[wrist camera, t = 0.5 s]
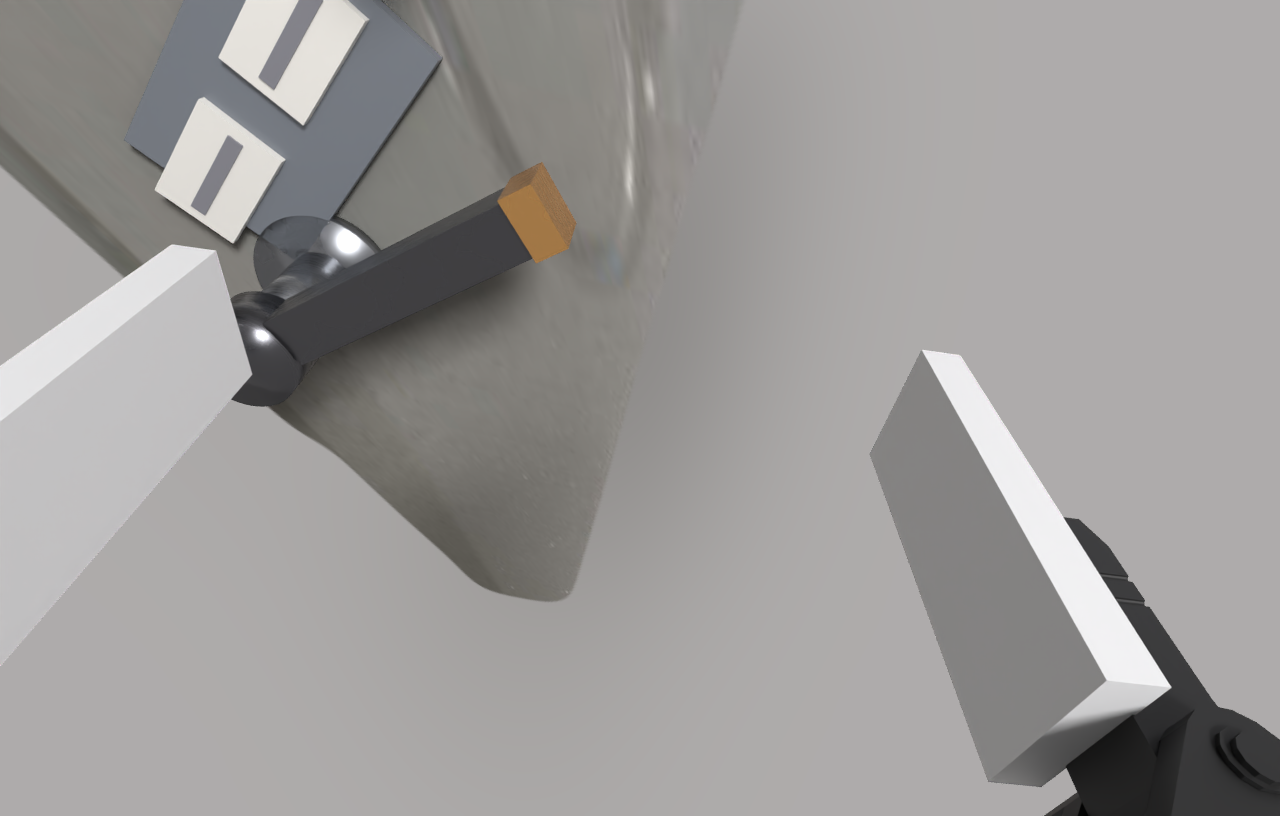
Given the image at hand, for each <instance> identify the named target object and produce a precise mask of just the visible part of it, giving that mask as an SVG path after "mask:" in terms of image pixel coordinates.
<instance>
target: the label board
mask: <svg viewBox="0 0 1280 816" xmlns="http://www.w3.org/2000/svg"><path fill="white" fill-rule="evenodd" d="M442 59H443V58H442V57H441V56H440V55H439V54H438V53H437V52H436V51H435V50H434V49H433V48H432V47H430V46H429V45H428V44H427V43H426V42H425V41H424V40H423V39H422V38H421V37H420V36H419V35H418V34H416V33H415V32H414V31H413V30H412V29H411V28H410V27H409V26H408V25H407V24H406V23H405V22H404V21H403V20H401V19H400V18H399V17H398V16H397V15H396V14H395V13H394V12H393V11H392V10H391V9H390V8H389V7H388V6H386V5H385V4H384V3H383V2H382V1H381V0H184V1H183V3H182V6H181V8H180V10H179V13H178V15H177V17H176V20H175V22H174V24H173V27H172V29H171V31H170V34H169V36H168V38H167V41H166V43H165V45H164V48H163V50H162V52H161V55H160V57H159V59H158V62H157V64H156V66H155V69H154V71H153V73H152V76H151V78H150V80H149V83H148V85H147V87H146V90H145V92H144V94H143V97H142V99H141V101H140V104H139V106H138V108H137V111H136V113H135V115H134V118H133V120H132V122H131V125H130V127H129V129H128V132H127V134H126V136H125V139H124V141H126V142H127V143H129V144H130V145H132V146H133V147H134V148H136V149H137V150H139V151H140V152H142V153H143V154H144V155H146V156H147V157H149V158H150V159H151V160H153V161H154V162H156V163H157V164H159V165H160V166H161V167H163V168H164V171H163V173H162V175H161V178H160V180H159V182H158V184H157V186H156V188H155V190H156V191H157V192H158V193H160V194H161V195H163V196H164V197H166V198H167V199H169V200H170V201H172V202H173V203H174V204H176V205H177V206H179V207H180V208H182V209H183V210H185V211H186V212H188V213H189V214H191V215H192V216H193V217H195V218H196V219H198V220H199V221H201V222H202V223H204V224H205V225H207V226H208V227H209V228H211V229H212V230H214V231H215V232H217V233H218V234H220V235H221V236H223V237H224V238H226V239H227V240H228V241H230V242H231V243H234V242H236V241H237V240H238V239H239V237H240V235H241V234H242V232H243V230H244V229H245V227H246V226H247V227H248V228H250V229H251V230H252V231H254V232H255V233H257V234H258V235H261V236H262V234H261V233H262V232H263V231H264V230H265V228H266V233H265V234H263V236H264V237H265V236H266V237H268V235H269V234H270V233H271V232H272V233H271V234H270V235H269V237H270V238H269V237H268V238H266V237H265V239H267V241H268V242H271V244H273V245H274V246H275V247H276V245H277V243H278V245H277V247H278V249H280V248H281V249H283V250H281V251H283V252H285V251H286V250H285V251H284V249H287V250H288V248H289V247H290V248H291V249H293V248H294V249H297V250H298V249H301V248H302V246H303V245H304V244H305V245H304V246H303V247H304V248H305V249H307V250H310V249H309V248H310V247H312V245H313V243H314V242H315V240H316V237H317V238H318V236H319V234H321V230H322V231H323V229H324V228H325V226H326V225H324V224H323V222H324V223H326V224H327V223H328V222H329V221H330V220H331V219H332V218H333V217H334V216H335V215H336V213H337V212H338V210H339V209H340V207H341V206H342V205H343V203H344V202H345V200H346V199H347V197H348V196H349V194H350V193H351V191H352V190H353V189H354V187H355V186H356V184H357V183H358V181H359V180H360V178H361V177H362V175H363V174H364V172H365V171H366V170H367V168H368V167H369V165H370V164H371V162H372V161H373V159H374V158H375V156H376V155H377V153H378V152H379V151H380V149H381V148H382V146H383V145H384V143H385V142H386V140H387V139H388V137H389V136H390V134H391V133H392V132H393V130H394V129H395V127H396V126H397V124H398V123H399V121H400V120H401V118H402V117H403V116H404V114H405V113H406V111H407V110H408V108H409V107H410V105H411V104H412V102H413V101H414V99H415V98H416V97H417V95H418V94H419V92H420V91H421V89H422V88H423V86H424V85H425V83H426V82H427V80H428V79H429V78H430V76H431V75H432V73H433V72H434V70H435V69H436V67H437V66H438V64H439V63H440V61H441V60H442ZM290 216H291V217H290ZM293 216H294V217H298V216H299V217H298V218H294V217H293ZM300 216H301V217H300ZM302 216H304V217H305V219H304V218H303V217H302ZM306 216H309V217H310V219H311V221H312V222H311V221H310V219H309V217H306ZM311 216H312V217H311ZM285 217H286V218H287V217H290V219H291V220H290V219H289V218H287V219H288V220H286V218H285ZM292 217H293V219H294V220H295V221H294V220H293V219H292ZM313 217H315V218H318V219H315V218H313ZM282 218H283V219H285V220H283V219H282ZM300 218H301V219H300ZM312 218H313V219H312ZM319 218H320V219H319ZM279 219H282V220H281V221H280V222H279V221H278V222H276V221H277V220H279ZM303 219H304V220H305V221H304V220H303ZM307 219H309V221H310V222H311V223H310V224H309V223H307V222H309V221H307ZM321 219H322V220H321ZM296 220H297V221H296ZM301 220H303V221H301ZM315 220H316V221H315ZM323 220H324V221H323ZM325 220H326V221H325ZM282 221H283V224H285V221H287V223H288V224H287V223H286V225H283V224H282ZM292 221H294V223H295V225H294V223H293V222H292ZM318 221H319V223H318ZM320 221H321V222H320ZM322 221H323V222H322ZM273 222H274V224H275V222H276V223H277V224H278V226H277V224H276V225H275V226H274V224H272V223H273ZM291 222H292V223H291ZM301 222H302V223H301ZM305 222H306V223H305ZM299 223H300V224H301V225H302V226H301V225H300V224H299ZM304 223H305V224H304ZM313 223H314V224H313ZM316 223H318V224H317V225H318V226H319V228H318V227H317V228H316V226H317V225H315V224H316ZM271 224H272V225H271ZM279 224H280V225H279ZM297 224H298V225H297ZM306 224H307V226H306ZM320 224H322V225H323V226H324V227H323V226H322V225H320ZM291 225H292V226H293V227H294V229H293V227H292V226H291ZM303 225H304V226H303ZM286 226H287V228H286ZM290 226H291V227H292V228H291V227H290ZM298 226H300V227H298ZM309 226H310V227H309ZM311 226H312V227H311ZM267 227H268V228H269V229H270V230H269V229H268V228H267ZM276 227H277V228H278V227H279V228H278V229H277V228H276ZM284 227H285V228H286V229H285V228H284ZM288 227H289V228H288ZM304 227H307V229H306V228H304ZM274 228H275V229H276V231H275V229H274ZM280 228H281V230H280ZM283 228H284V229H285V230H283ZM290 228H291V229H290ZM295 228H296V229H295ZM297 228H298V230H297ZM303 228H304V229H303ZM309 228H310V229H309ZM313 228H314V229H313ZM315 228H316V230H318V232H319V233H318V232H316V230H315ZM321 228H323V229H321ZM267 229H268V231H267ZM271 229H272V230H271ZM273 229H274V230H273ZM288 229H289V230H288ZM292 229H293V231H292ZM311 229H312V231H313V230H315V232H314V231H313V232H310V230H311ZM282 230H283V231H282ZM294 230H296V231H295V232H294ZM302 230H303V231H302ZM304 230H306V231H304ZM307 230H309V232H307ZM319 230H320V231H319ZM274 231H275V232H274ZM279 231H280V232H281V231H282V233H280V232H279ZM285 231H286V232H287V233H286V232H285ZM289 231H290V232H289ZM299 231H300V232H299ZM268 232H269V233H268ZM276 232H278V233H276ZM296 232H297V233H296ZM303 232H304V233H303ZM267 233H268V234H267ZM273 233H274V234H273ZM279 233H280V234H281V235H279ZM291 233H292V234H293V235H292V234H291ZM301 233H303V234H302V235H300V234H301ZM308 233H309V234H308ZM312 233H314V234H315V233H316V234H317V236H316V234H315V235H314V234H312ZM276 234H278V236H279V238H278V236H277V235H276ZM283 234H284V235H283ZM289 234H291V235H292V236H291V235H289ZM296 234H297V236H299V237H296V236H295V235H296ZM304 234H305V235H304ZM275 235H276V236H275ZM285 235H286V236H285ZM287 235H288V236H287ZM308 235H309V236H308ZM310 235H311V237H310ZM263 236H262V238H264V237H263ZM271 236H273V238H275V240H274V239H273V238H272V237H271ZM300 236H301V237H300ZM302 236H306V237H307V238H308V239H307V238H306V237H305V238H304V237H302ZM280 237H281V238H280ZM293 237H294V238H293ZM309 237H310V238H309ZM314 237H315V238H314ZM283 238H286V239H288V240H287V242H286V239H283ZM297 238H299V239H298V240H300V242H301V241H302V240H303V241H304V242H303V241H302V242H301V243H302V244H301V243H300V242H299V241H298V240H297ZM302 238H303V239H302ZM311 238H312V239H313V240H314V241H313V240H311ZM269 239H270V240H269ZM272 239H273V241H274V243H275V244H276V245H275V244H274V243H273V241H272ZM276 239H277V240H279V241H277V240H276ZM294 239H295V240H296V241H295V240H294ZM280 240H281V241H282V242H281V241H280ZM284 240H285V241H284ZM290 240H291V241H292V240H294V241H293V242H291V241H290ZM276 241H277V242H276ZM297 241H298V242H297ZM305 241H306V242H305ZM307 241H308V242H307ZM309 241H311V242H309ZM285 242H286V243H285ZM288 242H289V243H288ZM279 243H281V244H282V243H283V244H282V245H280V244H279ZM284 243H285V244H284ZM296 243H298V245H299V243H300V245H299V246H297V244H296ZM308 243H309V244H308ZM310 243H311V244H310ZM287 244H288V245H289V246H288V245H287ZM292 244H293V245H295V244H296V246H297V248H296V246H295V247H294V246H293V245H292ZM306 244H307V245H308V246H307V245H306ZM279 245H280V246H279ZM301 245H302V246H301ZM287 246H288V248H287ZM291 246H292V247H291ZM284 247H286V248H284ZM298 247H300V248H298ZM308 247H309V248H308ZM304 248H302V249H301V250H303V249H304ZM291 249H289V250H290V252H289V253H288V252H287V253H288V254H289V256H290V255H292V256H293V254H291V253H292V252H293V251H297V250H294V249H293V250H292V251H291ZM289 250H288V251H289ZM304 251H306V250H304ZM297 252H300V250H298V251H297ZM297 252H296V253H295V252H293V253H294V254H295V255H296V254H297ZM301 252H302V251H301ZM301 252H300V253H301ZM306 252H308V251H306ZM285 254H286V253H285ZM288 254H287V255H288ZM302 254H305V253H302ZM297 255H298V254H297ZM299 255H301V254H299ZM292 256H291V258H292V259H293V257H292ZM294 257H295V256H294ZM297 257H299V256H297ZM296 259H297V258H296Z"/></svg>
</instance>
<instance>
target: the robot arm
mask: <svg viewBox="0 0 1280 816" xmlns="http://www.w3.org/2000/svg"><path fill="white" fill-rule="evenodd" d="M251 375H252V372H251V368H250V365H249V361H248V358H247V355H246V351H245V348H244V344H243V341H242V337H241V334H240V331H239V327H238V324H237V320H236V317H235V314H234V310H233V307H232V303H231V300H230V297H229V293H228V290H227V286H226V283H225V280H224V276H223V273H222V269H221V266H220V262H219V259H218V256H217V252H216V251H214V250H207V249H200V248H193V247H186V246H179V245H170V246H169V247H168V248H166V249H165V250H163V251H162V252H160V253H159V254H158V255H156V256H155V257H153V258H152V259H151V260H149V261H148V262H146V263H145V264H144V265H142V266H141V267H139V268H138V269H136V270H135V271H134V272H132V273H131V274H129V275H128V276H127V277H125V278H124V279H122V280H121V281H120V282H118V283H117V284H115V285H114V286H112V287H111V288H110V289H108V290H107V291H106V292H104V293H103V294H101V295H100V296H98V297H97V298H96V299H94V300H93V301H91V302H90V303H88V304H87V305H86V306H84V307H83V308H81V309H80V310H79V311H77V312H76V313H75V314H73V315H71V316H70V317H69V318H67V319H66V320H64V321H63V322H62V323H60V324H59V325H57V326H56V327H55V328H53V329H52V330H50V331H49V332H47V333H46V334H45V335H43V336H42V337H41V338H39V339H38V340H36V341H35V342H33V343H32V344H31V345H29V346H28V347H27V348H25V349H24V350H22V351H21V352H19V353H18V354H16V355H15V356H14V357H12V358H11V359H10V360H8V361H7V362H5V363H4V364H2V365H1V366H0V666H1V665H2V664H3V663H4V662H5V660H6V659H7V658H8V657H9V656H10V655H11V654H12V652H13V651H14V650H15V649H16V648H17V646H18V645H19V644H20V643H21V642H22V641H23V640H24V639H25V637H26V636H27V635H28V634H29V633H30V632H31V630H32V629H33V628H34V627H35V626H36V624H37V623H38V622H39V621H40V620H41V619H42V618H43V616H44V615H45V614H46V613H47V612H48V611H49V609H50V608H51V607H52V606H53V605H54V604H55V602H56V601H57V600H58V599H59V598H60V597H61V596H62V594H63V593H64V592H65V591H66V590H67V589H68V587H69V586H70V585H71V584H72V583H73V582H74V580H75V579H76V578H77V577H78V576H79V575H80V574H81V572H82V571H83V570H84V569H85V568H86V567H87V565H88V564H89V563H90V562H91V561H92V560H93V558H94V557H95V556H96V555H97V554H98V553H99V552H100V550H101V549H102V548H103V547H104V546H105V545H106V543H107V542H108V541H109V540H110V539H111V537H112V536H113V535H114V534H115V533H116V532H117V531H118V530H119V528H120V527H121V526H122V525H123V524H124V523H125V521H126V520H127V519H128V518H129V517H130V516H131V514H132V513H133V512H134V511H135V510H136V509H137V507H138V506H139V505H140V504H141V503H142V502H143V500H144V499H145V498H146V497H147V496H148V495H149V493H150V492H151V491H152V490H153V489H154V488H155V487H156V485H157V484H158V483H159V482H160V481H161V480H162V479H163V477H164V476H165V475H166V474H167V473H168V471H169V470H170V469H171V468H172V467H173V466H174V465H175V463H176V462H177V461H178V460H179V459H180V457H181V456H182V455H183V454H184V453H185V452H186V451H187V450H188V448H189V447H190V446H191V445H192V444H193V442H194V441H195V440H196V439H197V438H198V437H199V436H200V434H201V433H202V432H203V431H204V430H205V429H206V427H207V426H208V425H209V424H210V423H211V422H212V420H213V419H214V418H215V417H216V416H217V415H218V414H219V412H220V411H221V410H222V409H223V408H224V407H225V405H226V404H227V403H228V402H229V401H230V400H231V399H232V397H233V396H234V395H235V394H236V393H237V392H238V390H239V389H240V388H241V387H242V386H243V385H244V383H245V382H246V381H247V380H248V379H249V378H250V377H251ZM870 457H871V459H872V462H873V465H874V467H875V470H876V473H877V476H878V479H879V481H880V484H881V487H882V489H883V492H884V495H885V498H886V501H887V503H888V506H889V509H890V512H891V515H892V517H893V520H894V523H895V526H896V528H897V531H898V534H899V537H900V539H901V542H902V545H903V548H904V550H905V553H906V556H907V559H908V561H909V564H910V567H911V570H912V572H913V575H914V578H915V581H916V583H917V586H918V589H919V592H920V595H921V597H922V600H923V603H924V605H925V608H926V611H927V614H928V616H929V619H930V622H931V625H932V628H933V630H934V633H935V636H936V639H937V641H938V644H939V647H940V650H941V652H942V655H943V658H944V661H945V663H946V666H947V669H948V672H949V675H950V677H951V680H952V683H953V685H954V688H955V691H956V694H957V697H958V699H959V702H960V705H961V708H962V710H963V713H964V716H965V718H966V721H967V724H968V727H969V730H970V732H971V735H972V738H973V741H974V743H975V746H976V749H977V752H978V754H979V757H980V760H981V763H982V766H983V768H984V771H985V774H986V777H987V779H988V782H995V783H1006V784H1016V785H1027V786H1036V787H1042V786H1043V785H1044V784H1046V783H1047V782H1048V781H1050V780H1051V779H1052V778H1054V777H1055V776H1056V775H1058V774H1059V773H1060V772H1061V771H1063V770H1064V769H1065V768H1067V770H1068V772H1069V774H1070V777H1071V779H1072V781H1073V783H1074V785H1075V787H1076V790H1077V793H1076V794H1074V795H1073V796H1071V797H1070V798H1069V799H1067V800H1066V801H1065V802H1063V803H1062V804H1060V805H1059V806H1057V807H1056V808H1054V809H1053V810H1052V811H1050V812H1049V813H1047V814H1046V815H1044V816H1280V740H1279V739H1278V738H1277V737H1275V736H1274V735H1273V734H1271V733H1270V732H1269V731H1267V730H1266V729H1265V728H1263V727H1262V726H1260V725H1259V724H1258V723H1257V722H1255V721H1253V720H1251V719H1249V718H1247V717H1245V716H1243V715H1241V714H1238V713H1236V712H1235V711H1233V710H1229V709H1224V708H1220V707H1218V706H1217V705H1216V704H1215V702H1214V701H1213V700H1212V699H1211V697H1210V696H1209V694H1208V693H1207V691H1206V690H1205V688H1204V687H1203V685H1202V684H1201V682H1200V681H1199V679H1198V678H1197V677H1196V675H1195V674H1194V672H1193V671H1192V669H1191V668H1190V666H1189V665H1188V663H1187V662H1186V660H1185V659H1184V657H1183V656H1182V654H1181V653H1180V651H1179V650H1178V649H1177V647H1176V646H1175V644H1174V643H1173V641H1172V640H1171V638H1170V637H1169V635H1168V634H1167V632H1166V631H1165V629H1164V628H1163V626H1162V625H1161V624H1160V622H1159V620H1158V619H1157V617H1156V616H1155V615H1154V613H1153V611H1152V610H1151V609H1150V607H1146V606H1145V605H1144V601H1145V600H1144V598H1143V597H1142V595H1141V594H1140V592H1139V591H1138V589H1137V588H1136V587H1135V585H1134V583H1133V582H1129V581H1128V575H1127V573H1126V572H1125V570H1124V569H1123V567H1122V566H1121V564H1120V563H1119V561H1118V560H1117V558H1116V557H1115V556H1114V554H1113V553H1112V551H1111V549H1110V548H1109V547H1108V546H1107V545H1106V544H1105V543H1104V542H1103V541H1102V540H1101V539H1100V538H1099V537H1098V536H1096V535H1095V534H1094V533H1093V532H1092V531H1091V530H1090V529H1089V528H1088V527H1087V526H1085V524H1083V523H1082V522H1081V521H1080V520H1079V519H1072V518H1065V517H1063V516H1062V515H1061V513H1060V512H1059V510H1058V508H1057V507H1056V505H1055V504H1054V502H1053V501H1052V499H1051V497H1050V496H1049V494H1048V493H1047V491H1046V490H1045V488H1044V486H1043V485H1042V483H1041V482H1040V480H1039V479H1038V477H1037V475H1036V474H1035V472H1034V471H1033V469H1032V468H1031V466H1030V464H1029V463H1028V461H1027V460H1026V458H1025V457H1024V455H1023V453H1022V452H1021V450H1020V449H1019V447H1018V446H1017V444H1016V443H1015V441H1014V439H1013V438H1012V436H1011V435H1010V433H1009V432H1008V430H1007V428H1006V427H1005V425H1004V424H1003V422H1002V420H1001V419H1000V417H999V416H998V414H997V413H996V411H995V410H994V408H993V406H992V405H991V403H990V402H989V400H988V398H987V397H986V395H985V394H984V392H983V391H982V389H981V387H980V386H979V384H978V383H977V381H976V380H975V378H974V376H973V375H972V373H971V372H970V370H969V369H968V367H967V365H966V364H965V362H964V361H963V359H962V358H961V356H960V355H955V354H948V353H941V352H934V351H926V350H921V352H920V354H919V356H918V358H917V360H916V362H915V364H914V366H913V368H912V370H911V372H910V374H909V376H908V378H907V380H906V382H905V384H904V386H903V388H902V390H901V392H900V395H899V396H898V398H897V401H896V403H895V404H894V406H893V408H892V410H891V412H890V415H889V416H888V419H887V420H886V423H885V424H884V426H883V428H882V431H881V432H880V434H879V436H878V438H877V440H876V442H875V444H874V446H873V448H872V450H871V452H870Z"/></svg>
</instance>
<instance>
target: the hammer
mask: <svg viewBox="0 0 1280 816" xmlns="http://www.w3.org/2000/svg"><path fill="white" fill-rule="evenodd" d="M575 225H576V221H575V220H574V218H573V216H572V214H571V212H570V211H569V209H568V207H567V205H566V204H565V202H564V200H563V198H562V197H561V195H560V193H559V191H558V189H557V188H556V186H555V184H554V182H553V181H552V179H551V177H550V175H549V173H548V172H547V170H546V168H545V166H544V165H543V163H542V162H541V163H539V164H537V165H535V166H533V167H531V168H529V169H527V170H525V171H523V172H521V173H519V174H517V175H516V176H514V177H512V178H511V179H510V180H509V182H508V184H507V185H506V187H505V188H503V189H501V190H499V191H497V192H495V193H493V194H491V195H489V196H487V197H485V198H483V199H481V200H479V201H477V202H475V203H473V204H471V205H470V206H468V207H466V208H464V209H462V210H460V211H458V212H456V213H454V214H452V215H450V216H448V217H446V218H444V219H442V220H440V221H438V222H436V223H434V224H432V225H430V226H428V227H426V228H424V229H423V230H421V231H419V232H417V233H415V234H413V235H411V236H409V237H407V238H405V239H403V240H401V241H399V242H397V243H395V244H393V245H391V246H389V247H387V248H385V249H383V250H381V251H379V252H377V253H376V254H374V255H372V256H370V257H368V258H366V259H364V260H362V261H360V262H358V263H356V264H354V265H352V266H350V267H348V268H346V269H344V270H342V271H340V272H338V273H336V274H334V275H332V276H330V277H329V278H327V279H325V280H323V281H321V282H319V283H317V284H315V285H313V286H311V287H309V288H307V289H305V290H303V291H301V292H299V293H297V294H295V295H293V296H291V297H289V298H287V299H286V300H285V299H283V298H281V297H278V296H276V295H273V294H269V293H265V292H257V291H251V292H244V293H240V294H238V295H235V296H234V297H232V298H231V299H230V300H231V303H232V307H233V310H234V314H235V317H236V320H237V324H238V327H239V331H240V334H241V337H242V341H243V344H244V348H245V351H246V355H247V358H248V361H249V365H250V368H251V372H252V375H251V377H250V378H249V379H248V380H247V381H246V382H245V383H244V385H243V386H242V387H241V388H240V389H239V390H238V392H237V393H236V394H235V395H234V396H233V397H232V400H234V401H237V402H239V403H243V404H246V405H251V406H272V405H276V404H279V403H281V402H283V401H285V400H286V399H287V398H288V397H289V396H290V395H291V394H292V392H293V391H294V390H295V389H296V387H297V386H298V385H299V383H300V382H301V381H302V380H303V378H304V377H305V376H306V375H307V373H308V372H309V371H310V369H311V368H312V367H313V366H314V364H315V363H316V362H317V360H318V359H319V357H321V356H323V355H325V354H327V353H330V352H332V351H334V350H336V349H338V348H340V347H342V346H345V345H347V344H349V343H351V342H353V341H355V340H358V339H360V338H362V337H364V336H366V335H368V334H371V333H373V332H375V331H377V330H379V329H381V328H383V327H386V326H388V325H390V324H392V323H394V322H396V321H399V320H401V319H403V318H405V317H407V316H409V315H412V314H414V313H416V312H418V311H420V310H422V309H424V308H427V307H429V306H431V305H433V304H435V303H437V302H440V301H442V300H444V299H446V298H448V297H450V296H452V295H455V294H457V293H459V292H461V291H463V290H465V289H468V288H470V287H472V286H474V285H476V284H478V283H481V282H483V281H485V280H487V279H489V278H491V277H493V276H496V275H498V274H500V273H502V272H504V271H506V270H509V269H511V268H513V267H515V266H517V265H519V264H521V263H524V262H526V261H528V260H530V259H532V258H533V259H534V261H535V262H536V263H538V262H540V261H543V260H545V259H547V258H549V257H551V256H553V255H556V254H558V253H560V252H562V251H564V250H566V249H568V248H569V245H570V242H571V238H572V235H573V232H574V229H575Z"/></svg>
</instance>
